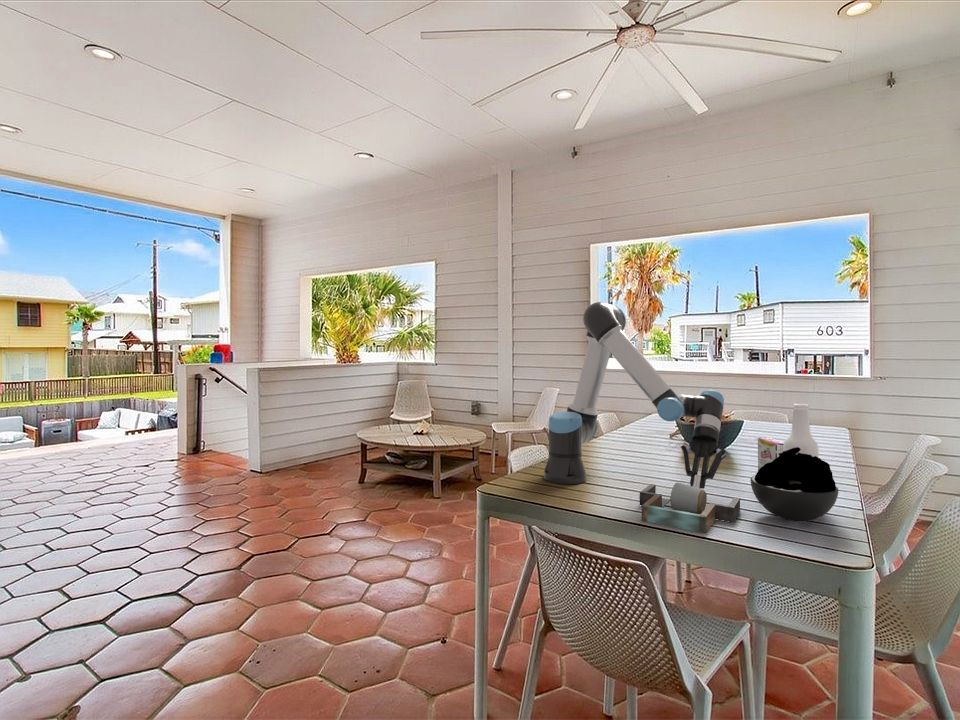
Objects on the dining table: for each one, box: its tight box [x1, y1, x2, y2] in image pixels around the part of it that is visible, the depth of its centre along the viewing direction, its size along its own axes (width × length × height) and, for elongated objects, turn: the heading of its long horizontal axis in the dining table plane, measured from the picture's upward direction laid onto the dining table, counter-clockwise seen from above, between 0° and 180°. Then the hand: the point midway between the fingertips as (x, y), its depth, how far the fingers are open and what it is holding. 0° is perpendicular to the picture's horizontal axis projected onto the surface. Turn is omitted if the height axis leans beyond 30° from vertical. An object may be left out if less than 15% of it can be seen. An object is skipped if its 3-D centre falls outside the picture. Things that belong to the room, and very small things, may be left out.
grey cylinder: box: [670, 482, 708, 515], centre depth 140 cm, size 11×8×8 cm
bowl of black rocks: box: [750, 447, 839, 523], centre depth 132 cm, size 20×20×19 cm
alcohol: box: [783, 403, 820, 458], centre depth 145 cm, size 9×9×30 cm
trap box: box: [639, 483, 741, 534], centre depth 136 cm, size 25×24×4 cm
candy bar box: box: [757, 437, 784, 471], centre depth 161 cm, size 11×5×16 cm, turn 179°
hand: (695, 496), depth 144 cm, fingers closed
